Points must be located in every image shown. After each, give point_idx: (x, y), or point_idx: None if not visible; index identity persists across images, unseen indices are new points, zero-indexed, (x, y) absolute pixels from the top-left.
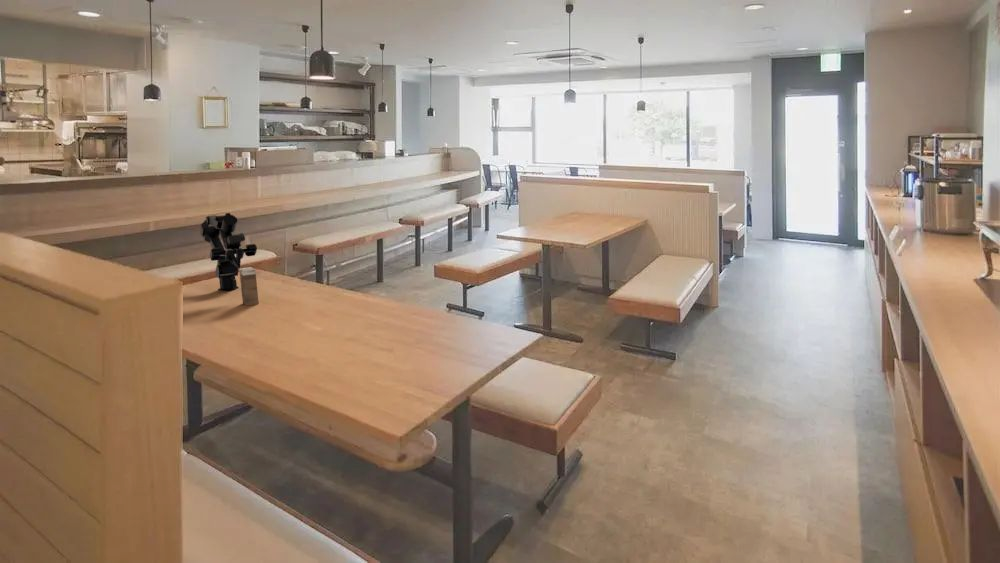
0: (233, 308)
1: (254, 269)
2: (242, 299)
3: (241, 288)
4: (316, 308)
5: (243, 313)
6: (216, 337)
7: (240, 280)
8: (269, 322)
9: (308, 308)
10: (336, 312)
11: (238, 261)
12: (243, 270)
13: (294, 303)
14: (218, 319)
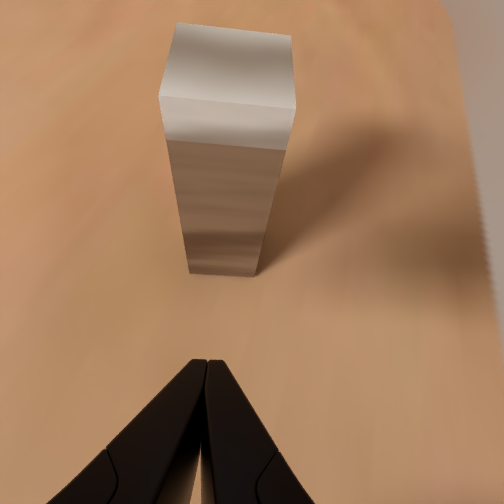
0: (313, 231)
1: (184, 26)
2: (256, 266)
3: (265, 227)
4: (71, 54)
5: (296, 147)
6: (401, 34)
7: (274, 195)
8: None
9: (89, 67)
10: (64, 4)
11: (184, 416)
12: (282, 40)
13: (75, 139)
14: (387, 140)
